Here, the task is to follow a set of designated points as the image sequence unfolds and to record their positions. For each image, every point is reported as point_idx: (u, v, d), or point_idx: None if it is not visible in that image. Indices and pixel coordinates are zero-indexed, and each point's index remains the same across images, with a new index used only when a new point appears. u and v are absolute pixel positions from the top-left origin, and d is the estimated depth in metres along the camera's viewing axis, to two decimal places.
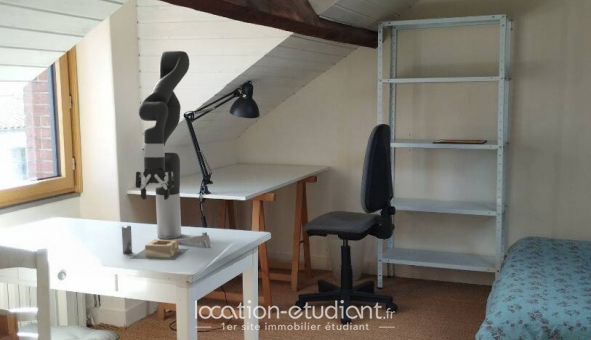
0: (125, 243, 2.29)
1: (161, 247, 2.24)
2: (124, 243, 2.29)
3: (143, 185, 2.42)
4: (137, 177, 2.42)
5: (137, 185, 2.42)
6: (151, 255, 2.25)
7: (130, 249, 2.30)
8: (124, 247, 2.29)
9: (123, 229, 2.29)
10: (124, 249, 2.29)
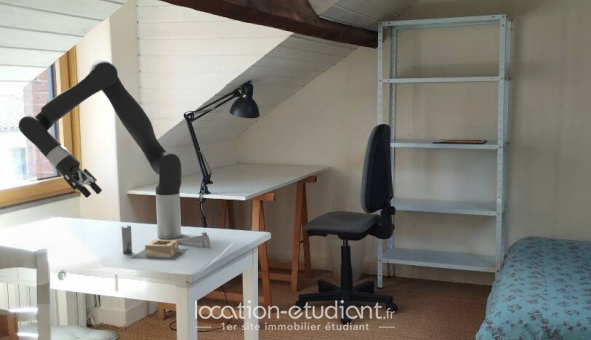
0: (125, 243, 2.29)
1: (161, 247, 2.24)
2: (124, 243, 2.29)
3: None
4: None
5: None
6: (151, 255, 2.25)
7: (130, 249, 2.30)
8: (124, 247, 2.29)
9: (123, 229, 2.29)
10: (124, 249, 2.29)
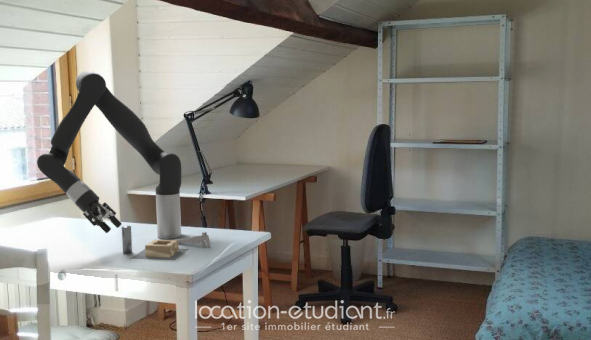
0: (125, 243, 2.29)
1: (161, 247, 2.24)
2: (124, 243, 2.29)
3: None
4: None
5: None
6: (151, 255, 2.25)
7: (130, 249, 2.30)
8: (124, 247, 2.29)
9: (123, 229, 2.29)
10: (124, 249, 2.29)
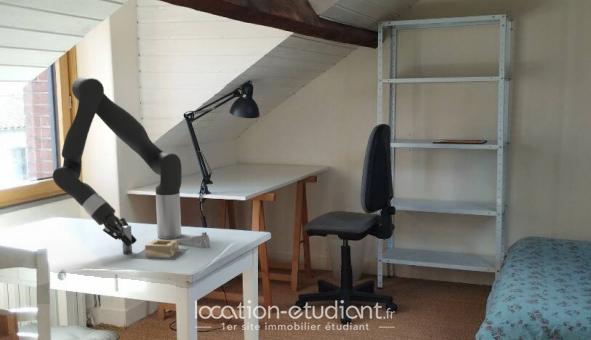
0: None
1: (161, 247, 2.24)
2: (124, 243, 2.29)
3: None
4: None
5: None
6: (151, 255, 2.25)
7: (130, 249, 2.30)
8: (124, 247, 2.29)
9: (123, 229, 2.29)
10: (124, 249, 2.29)
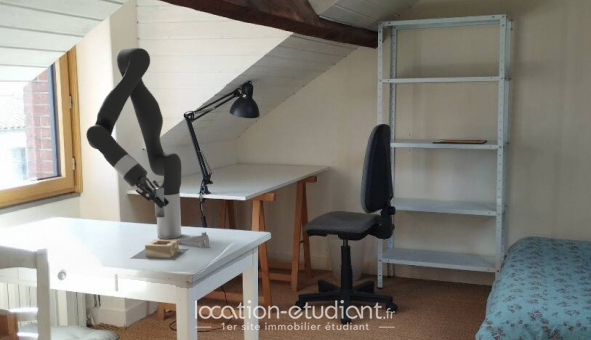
0: None
1: (161, 247, 2.24)
2: (157, 205, 2.25)
3: None
4: None
5: None
6: (151, 255, 2.25)
7: (163, 211, 2.26)
8: (157, 209, 2.25)
9: (156, 190, 2.25)
10: (157, 211, 2.25)
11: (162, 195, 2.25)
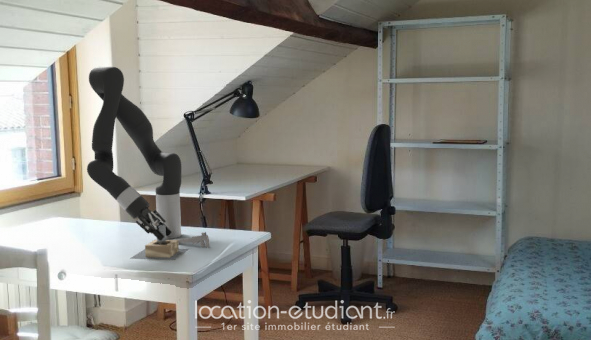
0: (160, 242, 2.27)
1: (161, 247, 2.24)
2: (159, 242, 2.27)
3: None
4: None
5: None
6: (151, 255, 2.25)
7: None
8: None
9: (158, 228, 2.26)
10: None
11: (164, 232, 2.27)
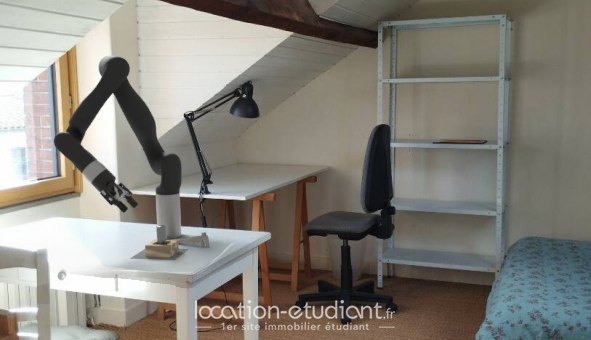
0: (160, 243, 2.27)
1: (161, 247, 2.24)
2: (159, 243, 2.27)
3: None
4: None
5: None
6: (151, 255, 2.25)
7: None
8: None
9: (158, 228, 2.26)
10: None
11: (164, 233, 2.27)
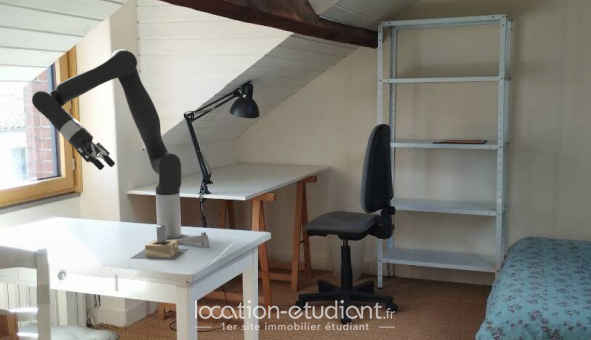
0: (160, 243, 2.27)
1: (161, 247, 2.24)
2: (159, 243, 2.27)
3: None
4: None
5: None
6: (151, 255, 2.25)
7: None
8: None
9: (158, 228, 2.26)
10: None
11: (164, 233, 2.27)
